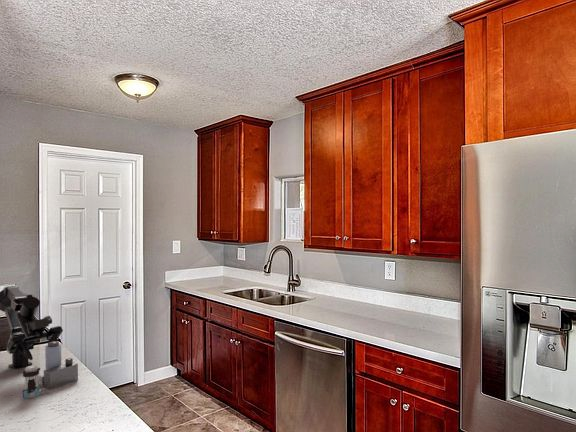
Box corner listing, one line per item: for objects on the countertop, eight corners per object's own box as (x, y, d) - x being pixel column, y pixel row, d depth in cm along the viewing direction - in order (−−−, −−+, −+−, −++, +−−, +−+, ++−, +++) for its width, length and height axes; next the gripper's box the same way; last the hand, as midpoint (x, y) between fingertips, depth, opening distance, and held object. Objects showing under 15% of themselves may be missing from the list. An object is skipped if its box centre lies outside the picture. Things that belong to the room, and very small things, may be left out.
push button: (42, 390, 149) (42, 362, 149) (46, 395, 145) (46, 366, 145) (20, 396, 144) (20, 367, 144) (24, 401, 140) (23, 371, 140)
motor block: (36, 384, 154) (36, 362, 154) (64, 375, 163) (64, 354, 163) (50, 389, 150) (49, 366, 150) (77, 379, 158) (77, 358, 158)
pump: (42, 381, 157) (42, 343, 157) (56, 377, 161) (56, 339, 161) (50, 384, 154) (50, 345, 154) (64, 379, 159) (64, 341, 159)
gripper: (10, 315, 156) (26, 350, 150) (60, 305, 172) (76, 337, 166) (0, 333, 160) (15, 368, 155) (49, 322, 176) (65, 353, 170)
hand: (44, 356), depth 161 cm, fingers open, 9 cm apart
